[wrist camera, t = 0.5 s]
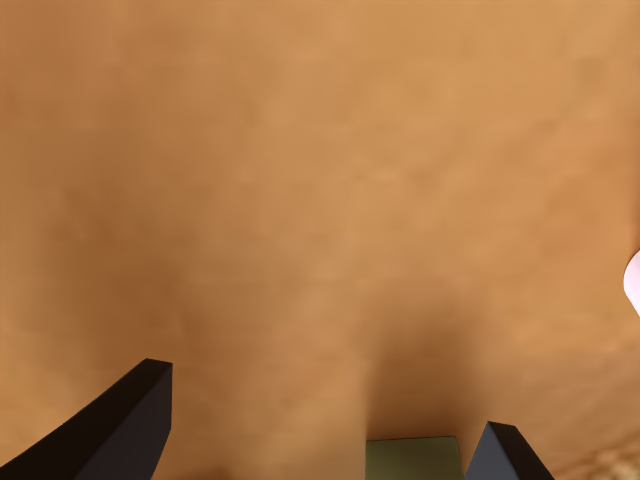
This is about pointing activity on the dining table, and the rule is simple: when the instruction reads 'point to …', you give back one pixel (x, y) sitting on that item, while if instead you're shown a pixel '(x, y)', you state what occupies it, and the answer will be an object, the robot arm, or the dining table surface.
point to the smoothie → (633, 281)
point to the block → (413, 459)
